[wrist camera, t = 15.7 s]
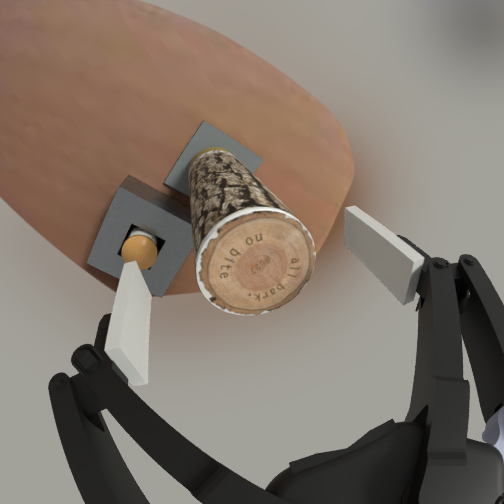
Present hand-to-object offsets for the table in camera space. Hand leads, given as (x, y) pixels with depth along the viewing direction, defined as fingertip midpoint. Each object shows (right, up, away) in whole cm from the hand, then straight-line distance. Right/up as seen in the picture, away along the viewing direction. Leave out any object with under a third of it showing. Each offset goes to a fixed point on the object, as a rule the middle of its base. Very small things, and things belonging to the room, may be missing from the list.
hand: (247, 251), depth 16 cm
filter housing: (-15, +3, +22) cm, 27 cm away
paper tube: (-5, +11, +20) cm, 24 cm away
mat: (-5, +11, +20) cm, 24 cm away
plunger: (-15, +3, +21) cm, 26 cm away
